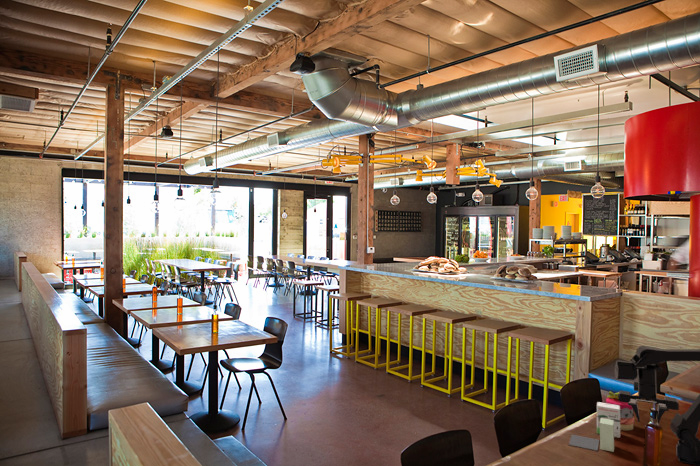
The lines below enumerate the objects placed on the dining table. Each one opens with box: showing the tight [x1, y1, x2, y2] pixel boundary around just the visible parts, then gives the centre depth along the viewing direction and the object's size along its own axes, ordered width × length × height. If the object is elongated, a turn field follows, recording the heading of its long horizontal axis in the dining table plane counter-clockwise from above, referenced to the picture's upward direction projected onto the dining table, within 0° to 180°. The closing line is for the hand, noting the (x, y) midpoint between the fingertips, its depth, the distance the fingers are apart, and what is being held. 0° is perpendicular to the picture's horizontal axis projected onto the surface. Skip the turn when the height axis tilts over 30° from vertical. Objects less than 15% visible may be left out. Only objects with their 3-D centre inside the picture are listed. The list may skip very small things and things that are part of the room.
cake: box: [605, 391, 635, 431], centre depth 198 cm, size 10×11×15 cm
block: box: [599, 418, 615, 453], centre depth 177 cm, size 4×6×10 cm
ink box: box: [596, 401, 621, 438], centre depth 190 cm, size 9×5×12 cm, turn 61°
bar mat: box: [568, 434, 600, 452], centre depth 181 cm, size 10×11×1 cm
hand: (648, 423), depth 170 cm, fingers open, 5 cm apart
